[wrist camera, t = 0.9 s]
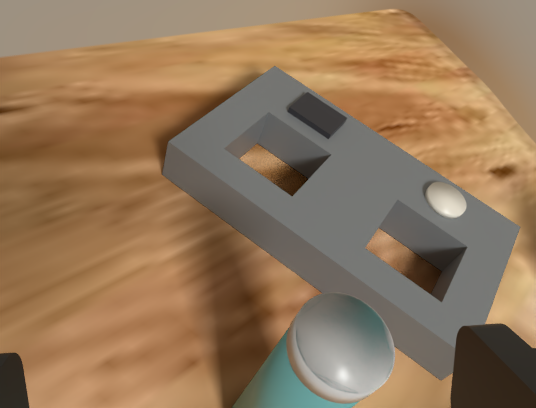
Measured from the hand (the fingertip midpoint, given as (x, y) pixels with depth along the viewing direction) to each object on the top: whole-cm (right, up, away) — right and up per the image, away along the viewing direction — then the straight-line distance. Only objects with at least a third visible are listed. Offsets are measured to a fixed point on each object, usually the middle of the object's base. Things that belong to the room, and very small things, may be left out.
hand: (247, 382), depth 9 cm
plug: (0, -9, +19) cm, 21 cm away
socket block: (+6, +2, +31) cm, 31 cm away
